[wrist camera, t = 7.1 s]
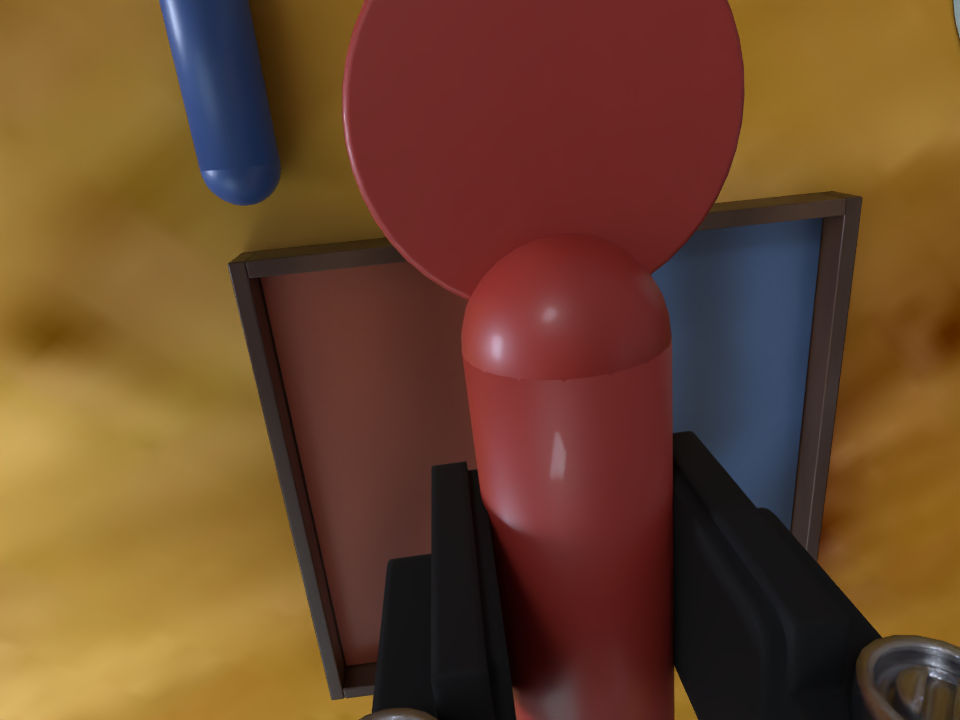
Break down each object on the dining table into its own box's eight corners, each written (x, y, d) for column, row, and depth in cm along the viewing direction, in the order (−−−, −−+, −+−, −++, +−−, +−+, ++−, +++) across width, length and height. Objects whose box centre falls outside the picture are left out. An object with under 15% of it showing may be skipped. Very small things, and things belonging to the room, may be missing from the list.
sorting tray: (336, 668, 30) (331, 701, 28) (241, 252, 23) (226, 263, 21) (787, 610, 31) (808, 638, 29) (833, 190, 24) (863, 196, 22)
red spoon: (695, 823, 13) (753, 978, 11) (481, 856, 13) (492, 1019, 10) (705, -110, 7) (837, -221, 5) (320, -65, 7) (265, -158, 5)
